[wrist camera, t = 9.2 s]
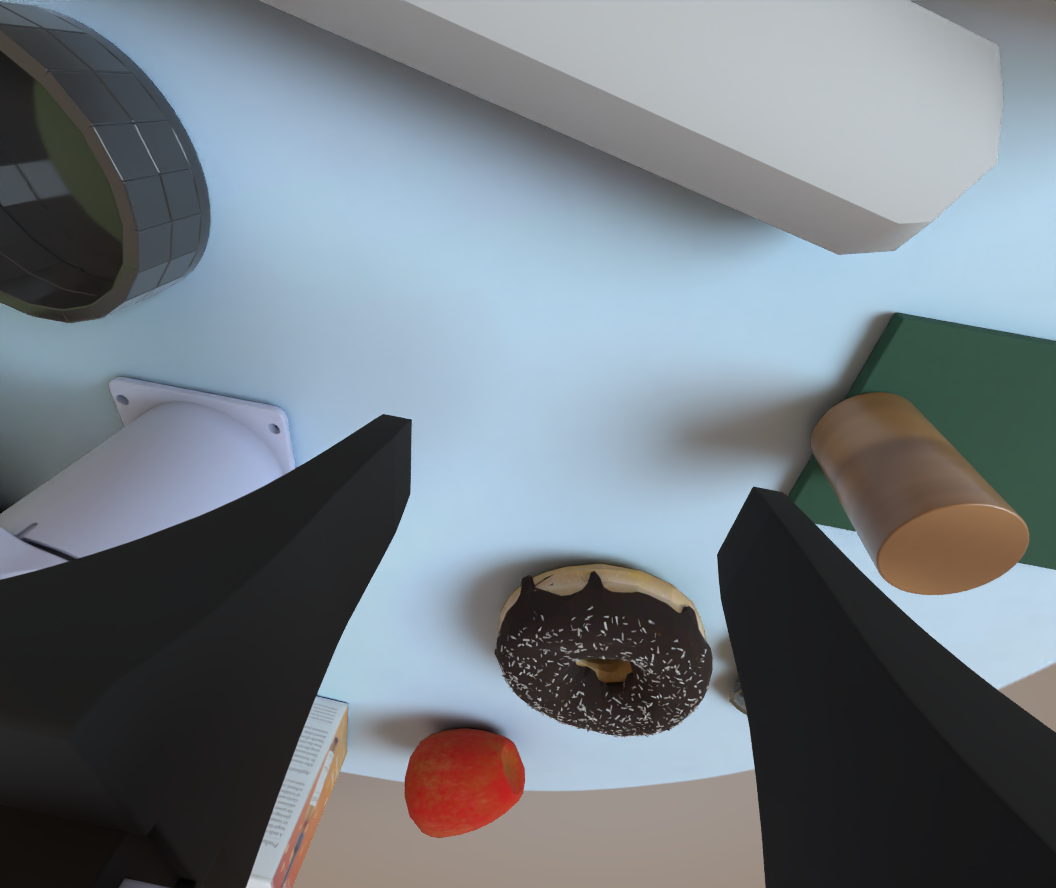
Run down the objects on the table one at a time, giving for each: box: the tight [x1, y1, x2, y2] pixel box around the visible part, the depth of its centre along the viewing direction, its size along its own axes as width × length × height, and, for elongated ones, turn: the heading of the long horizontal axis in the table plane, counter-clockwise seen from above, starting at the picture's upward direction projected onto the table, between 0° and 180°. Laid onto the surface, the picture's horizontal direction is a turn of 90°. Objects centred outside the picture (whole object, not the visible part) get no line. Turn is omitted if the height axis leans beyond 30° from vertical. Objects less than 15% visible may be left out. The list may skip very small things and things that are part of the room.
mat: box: [788, 313, 1056, 570], centre depth 19 cm, size 9×12×1 cm
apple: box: [405, 728, 525, 838], centre depth 35 cm, size 6×6×8 cm
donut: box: [495, 564, 712, 737], centre depth 27 cm, size 11×12×4 cm
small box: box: [246, 696, 348, 888], centre depth 35 cm, size 8×6×10 cm
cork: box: [811, 392, 1029, 595], centre depth 17 cm, size 4×4×6 cm
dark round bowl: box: [0, 1, 210, 323], centre depth 16 cm, size 9×9×4 cm
